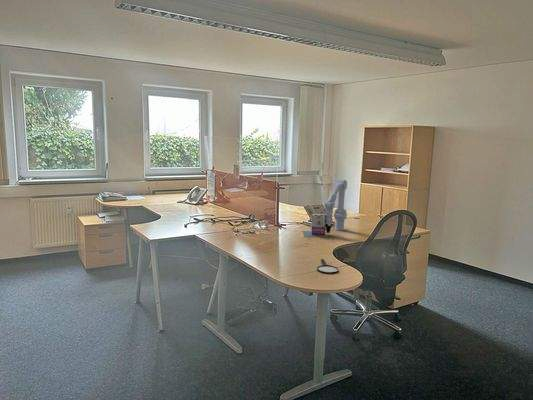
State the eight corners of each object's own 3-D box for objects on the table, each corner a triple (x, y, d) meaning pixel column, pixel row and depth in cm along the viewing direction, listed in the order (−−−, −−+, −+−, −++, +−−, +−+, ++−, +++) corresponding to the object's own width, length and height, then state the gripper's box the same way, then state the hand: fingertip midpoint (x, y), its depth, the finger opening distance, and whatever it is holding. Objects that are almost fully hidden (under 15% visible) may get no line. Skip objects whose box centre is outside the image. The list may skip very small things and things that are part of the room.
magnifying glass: (332, 262, 260) (332, 258, 260) (340, 275, 237) (340, 271, 236) (312, 261, 260) (312, 258, 260) (318, 275, 236) (319, 271, 236)
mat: (302, 231, 343) (302, 230, 343) (324, 232, 344) (324, 231, 343) (304, 237, 324) (304, 236, 324) (328, 238, 324) (328, 237, 324)
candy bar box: (324, 233, 336) (325, 213, 333) (325, 235, 331) (326, 215, 328) (310, 233, 335) (311, 213, 333) (311, 234, 330) (312, 214, 328)
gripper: (334, 218, 324) (333, 235, 326) (333, 215, 338) (332, 231, 340) (325, 218, 324) (324, 234, 326) (324, 214, 339) (323, 230, 341)
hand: (328, 232), depth 333 cm, fingers closed
